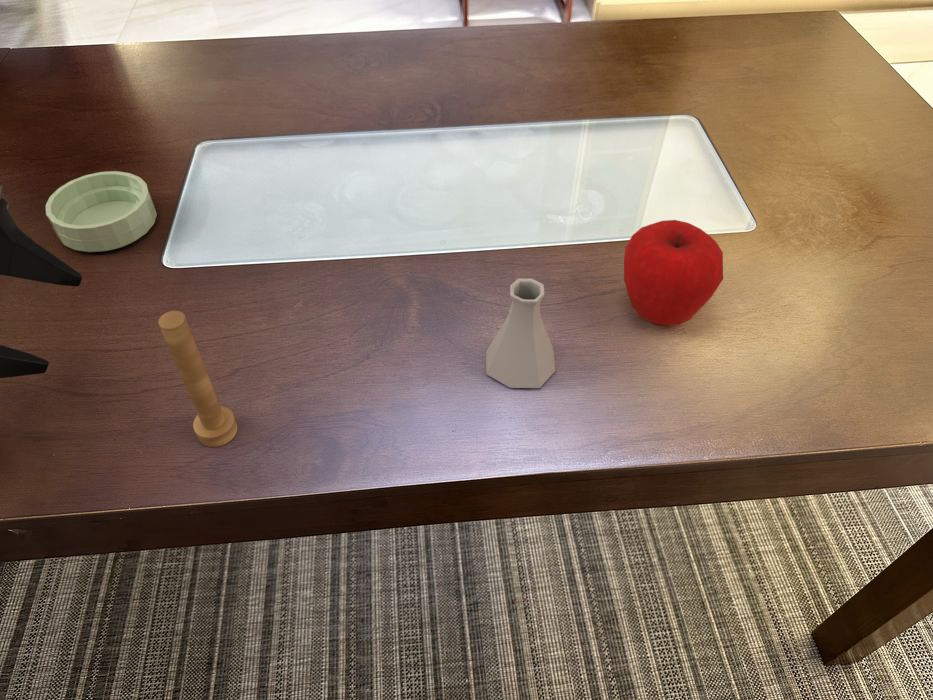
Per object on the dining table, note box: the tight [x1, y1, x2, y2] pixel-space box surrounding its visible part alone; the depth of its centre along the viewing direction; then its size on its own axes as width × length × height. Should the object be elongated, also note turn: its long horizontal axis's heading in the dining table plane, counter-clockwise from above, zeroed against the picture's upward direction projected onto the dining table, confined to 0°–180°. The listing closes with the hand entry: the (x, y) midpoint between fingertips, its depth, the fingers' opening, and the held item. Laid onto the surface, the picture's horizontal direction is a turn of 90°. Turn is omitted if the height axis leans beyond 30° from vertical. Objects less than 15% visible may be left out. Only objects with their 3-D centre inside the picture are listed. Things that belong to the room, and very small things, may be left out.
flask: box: [485, 278, 556, 389], centre depth 69 cm, size 7×7×10 cm
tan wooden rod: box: [157, 310, 239, 448], centre depth 61 cm, size 4×4×14 cm
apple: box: [623, 219, 724, 326], centre depth 73 cm, size 10×10×11 cm
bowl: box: [45, 170, 158, 253], centre depth 85 cm, size 11×11×4 cm
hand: (65, 321), depth 55 cm, fingers open, 9 cm apart
